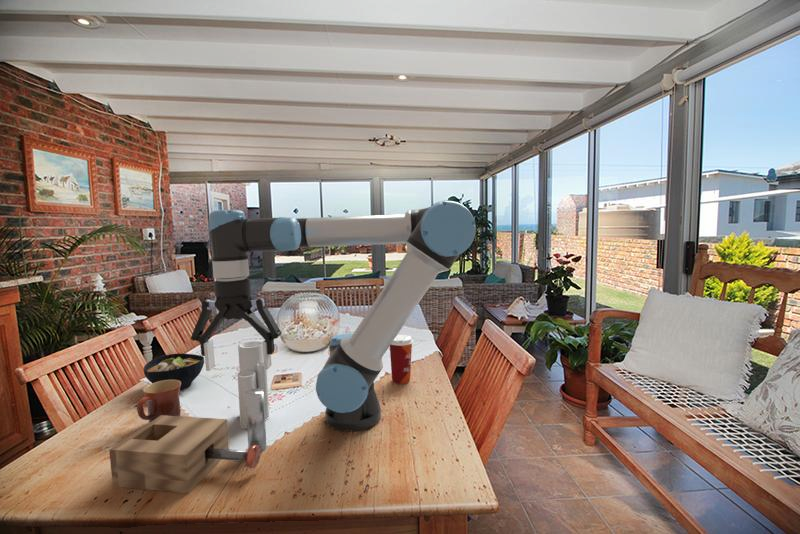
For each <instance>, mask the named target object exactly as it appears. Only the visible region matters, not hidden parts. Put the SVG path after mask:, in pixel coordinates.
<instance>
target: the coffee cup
mask: <svg viewBox="0 0 800 534" xmlns="http://www.w3.org/2000/svg"><path fill="white" fill-rule="evenodd" d="M413 343H414V340H413V338H412V336H410V335H407V334H397V336H396V337H395V339H394V340H393V342H392V343H391V345H390V346H389V355H390V367H391V380H392V383H394V384H395V385H406V384H409V383H410V382H411V381H410V380H411V367H412V366H411V365H412V352H413V349H412V347H413Z"/></svg>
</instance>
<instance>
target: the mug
mask: <svg viewBox="0 0 800 534" xmlns="http://www.w3.org/2000/svg"><path fill="white" fill-rule="evenodd" d="M180 387H181V381H179V380H163V381H158V382H155V383H150V384H148V385H146V386H144V388H143V389H142V392H143V395H144V397H142V398H140V399H139V400H138V402H137V404H136V412H137V415H138V417H139V418H140V419H141V420H144V421H148V424H149V423H150V422H152V421H153V420H155V419H156V418H158V417H159V416H161V415H166V416H181V402H180ZM146 402H147V415H146V413H145V410H144V408H145V407H144V405H145V403H146Z"/></svg>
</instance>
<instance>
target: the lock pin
mask: <svg viewBox="0 0 800 534" xmlns="http://www.w3.org/2000/svg"><path fill="white" fill-rule="evenodd" d="M261 454H262V452H261V449H260V446H259V445H252V446H251V447H250V448H249V450H248V449H247V450H242V449H230V448H229V449H216V448H207V449H206V450H205V458H209V459H222V460H221V461H223V460H226V461H240V462H245V465H246V468H247V469H256V467H257V466H258V464H259V462H260V459H261Z"/></svg>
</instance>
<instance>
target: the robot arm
mask: <svg viewBox="0 0 800 534" xmlns="http://www.w3.org/2000/svg"><path fill="white" fill-rule="evenodd" d="M208 216H209V217H208V218H209V220H208V222H209V224H208V227H209V229H208V233H209V239H210V247H211V248H210V249H211V255H212V256H211V257H212V258H211V260H212V271H213V272H212V276H213V278H214V279H215V281H214V283H213V285H214V287H213V288H214V295H215V300H212V299H211V298H209V299H205V300H204V301H202V302H201V312H200V314H199V316H198V318H197V321H196V324H195V326H194V329H193V331H192V334H191V336H190V340H191V341H197V342H198V343H199V345H200V354H201V356H203V357H204V363H205V371H206V372H210V371H212V370H213V369H214V368H215V367H216V361H215V347H214V340H213V339H211V338H212V336H213V334H215V332H216V330H217V329H218V328H219V327H220V325H221V324H222V323H223V321H224V320H225V319H226V320H232V319H235V320H241V319H244V320H245V321H246V322H247V323H249V324H250V326H251V327H253V329H254V330H255V331H256V332H257V333H258V334H259V335H260V336H261V337H262V338H263V339H264V340H263V341H262V345H263V359H264V370H267V371H268V370H269V369H270V368H271V366H272V364H273V363H272V354H274V352H275V339H278V338H279V337H280V336H281V335H282V331H281V329H280V327H279V326H278V324H277V322H276V321H275V319H274V317H273V315H272V313H271V312H270V310H269V309H268V307H267V302H266V298H265V297H260V298H257V299H252V297H251V295H252V291H251V290H252V289H251V279H250V278H249V275H250V267H249V253H254V252H283V253H284V252H289V251H296V250H298V249H299V248H314V247H315V248H317V247H318V248H319V247H342V246H343V247H344V246H345V247H346V246H347V247H349V246H368V245H370V246H371V245H372V246H373V245H397V244H398V245H400V244H401V245H402V244H406V250H407V252H406V254H405V255H404V256H403V259H402V260H401V261H400V263H399V264H398V265H397V267H396V269H395V270H394V272H393V273H392V274H391V277H389V279H388V281H386V283H385V286H383V288H382V289H381V291H380V293H379V295H378V296H377V297H376V299H375V300H374V302H373V304H372V305H371V306H370V307H369V310H368V311H367V312H366V314H365V316H364V317H363V318H362V320H361V321H360V323H359V324H358V326H357V327H356V329H355V330H354V332H353V333H344V334H343V333H341V334H337V335H336V334H335V335H334V336H332V337H331V338H330V339H329V345H328V348H329V357H328V358H327V360H326V362H325V364H324V366H323V367H322V369H321V370H320V371H319V373H318V375H317V379H316V382H315V393H316V395H317V398H318V400H319V402H320V403H321V404H322V405H323V406H324V407H325V411H324V413H325V414H324V417H325V418H324V419H325V423H326V424H327V426H329V427H330V428H331V429H334V430H336V431H343V432H355V431H362V430H366V429H369V428H371V427H373V426H374V425H376V424H378V422H379V421H380V419H381V417H382V412H381V411H382V408H381V404H380V401H379V399H378V396H377V394H376V391H375V380H376V378H377V377H378V376H379V375H380V373H381V371H382V370H383V368H384V365H383V357H384V355H385V354H386V352H387V351H388V350H389V349H390V345H391V343H392V342H393V340H394V339H395V337H396V336H397V335H399V333H400V331H401V330H402V329H403V326H404V325H405V324H406V322H407V321H408V319H410V316H411V315H412V314H413V312H414V310H415V309H416V308H417V306H418V305H419V303H420V302H421V300H422V298H423V297H424V296H425V294H426V293H427V291H428V290H429V289H430V287H431V285H432V284H433V283H434V281H435V280H436V278H437V276H438V275H439V274H441V273H444V272H448V271H450V269H451V268H452V266H453V265H454V264H455V262H456V260H457V259H458V258H459V256H460V255H462V254H463V253H464V252H465V251H467V249H469V248H470V247H471V245H472V244H473V241H474V239H475V237H476V232H477V230H476V229H477V226H476V221H475V218H474V216H473V214H472V212H471V211H470V209H468V208H467V207H466V206H464V204H461V203H460V202H458V201H454V200H450V199H449V200H440V201H438V202H434V203H433V204H432V205H430V206H429V207H425V208H424V207H423V208H419V209H409V210H407V211H406V212H405V213H398V214H397V213H396V214H377V215H376V214H375V215H374V214H373V215H353V216H352V215H350V216H327V217H326V216H325V217H308V218H307V217H306V218H305V217H304V218H303V217H302V218H298V217H297V218H295V217H286V216H279V217H265V218H261V217H259V218H247V217H246V214H245V212H244V211H243V210H240V209H237V210H236V209H231V210H229V209H223V210H212V211H211V212H210V213H209V215H208ZM253 306H254V308H255V309H257V311H258V313H259V315H260V317H261V319H262V321H263V322H264V323H263V322H262V321H261V320H260V318H258V316H257V315H256V313H255V312H254V310H252V307H253ZM215 308H216V309H217V311H218V313H217V314H216V315H215V317H214V319H213V320H212V321H211V323H210V324H209V326H208V327H207V328H206V326H207V324H208V321H209V319H210V317H211V314H212V312H213V310H214V309H215ZM205 328H206V330H205Z"/></svg>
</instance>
